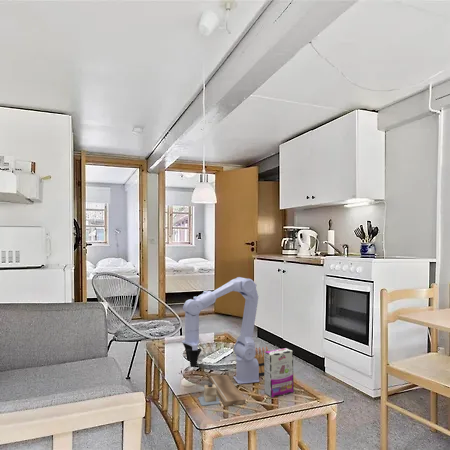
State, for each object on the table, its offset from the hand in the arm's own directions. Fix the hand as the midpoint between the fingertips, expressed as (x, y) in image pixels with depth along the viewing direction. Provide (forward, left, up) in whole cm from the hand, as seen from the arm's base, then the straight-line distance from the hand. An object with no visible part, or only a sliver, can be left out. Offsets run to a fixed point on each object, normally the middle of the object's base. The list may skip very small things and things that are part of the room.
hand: (191, 363), depth 146 cm
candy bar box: (-33, +12, -11) cm, 37 cm away
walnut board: (-13, +5, -10) cm, 17 cm away
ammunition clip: (-33, -8, -11) cm, 36 cm away
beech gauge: (-5, +12, -10) cm, 16 cm away
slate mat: (-4, +12, -10) cm, 17 cm away
